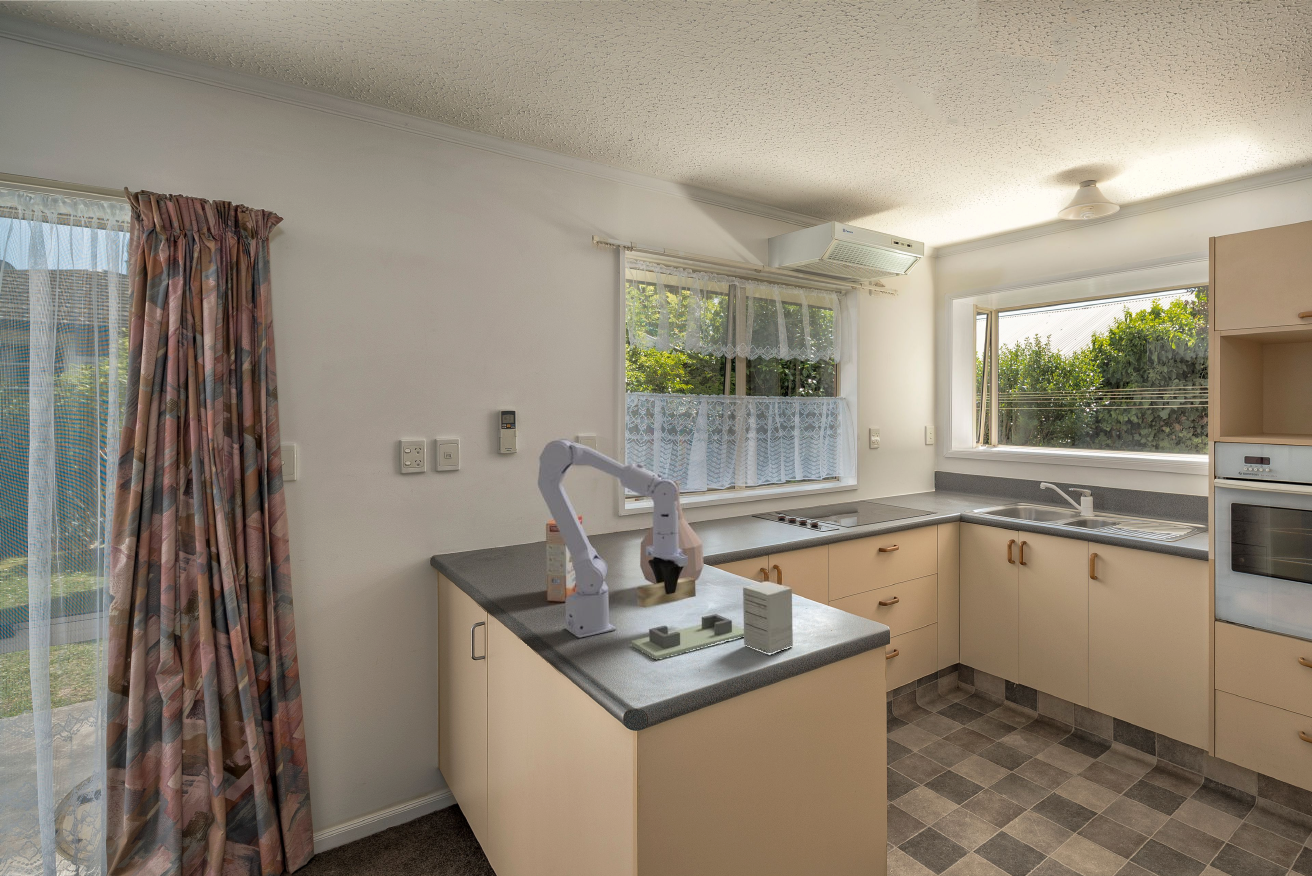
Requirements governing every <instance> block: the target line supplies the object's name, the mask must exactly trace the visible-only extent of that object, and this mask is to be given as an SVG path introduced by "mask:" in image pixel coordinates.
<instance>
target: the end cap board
mask: <svg viewBox="0 0 1312 876" xmlns="http://www.w3.org/2000/svg"><path fill="white" fill-rule="evenodd" d="M648 632H649V633H648V636H647V637H641V638H638V639H637V638H636V639H633V640H631V641H630V646H631V645H632V646H631V647H633V648H634V647H635V649H636V648H637V650H638V649H639V650H641V651H643V652H644V653H646V654H648V655H650V656H651V657H653V658H654V659H656V660H657V659H660V658H665V657H667V656H671V655H675V654H680V653H684V652H686V651H690V650H693V649H697V648H701V647H705V646H708V645H711V644H715V643H717V642H721V641H725V640H729V639H734V638H738V637H743V636H744V628H741V627H739V626H737V625H735V624H733V621H732V619H729V618H727V617H725V616H722V615H720V614H717V613H714V614H709V615H705V616H701V624H697V625H692V626H688V627H684V628H681V629H676V630H672V631H669V627H668V626H667V625H661V626H658V627H657V626H656V627H652V628H649V629H648ZM639 650H638V651H639ZM641 651H640V652H641ZM643 652H642V653H643ZM644 653H643V654H644ZM646 654H645V655H646ZM684 654H685V653H684ZM648 655H647V656H648ZM680 655H681V654H680ZM651 657H650V658H651ZM654 659H653V660H654ZM665 659H666V658H665ZM656 660H655V661H656ZM657 661H658V660H657Z"/></svg>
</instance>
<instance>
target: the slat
mask: <svg viewBox="0 0 1312 876" xmlns="http://www.w3.org/2000/svg"><path fill="white" fill-rule="evenodd" d="M696 592H697V591H696V581H695V579H693V578H690V577H686V578H681V579H678V582H677V586H676V591H675V593H672V594H666V592H665V585H664V582H661V583H656V584H653V583H651V584H647V585H643V586H642V585H641V586H638V587H637V605H638V606H639V607H641V608H649V607H654V606H658V605H662V604H666V603H671V602H677V601H680V600H681V601H682V600H685V599H689V598H694V597H696V595H697V594H696Z"/></svg>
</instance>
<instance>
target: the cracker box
mask: <svg viewBox="0 0 1312 876" xmlns="http://www.w3.org/2000/svg"><path fill="white" fill-rule="evenodd" d="M576 515H577V517H578V519H579V521H580V524H581V526H582V527H583V516H582V515H578V514H576ZM545 537H546V538H545V540H546V541H545V545H546V547H545V548H546V551H545V552H546V553H545V554H546V556H545V557H546V601H547V602H554V603H555V602H558V603H565V602H566V597H567V596H568V595H569V594H573V593H575V592H576V591H577V585H576V581H575V577H576V575H575V571H574V568H573V566H572V558H571V554H570V552H569V550H568V548H567V546H566V544H565V542H564V540H563V538H562V535H561V533H560V531H559V529H558V527H557V525H556V523H555V521H554V519H553V520H551V521H548V522H546V523H545Z"/></svg>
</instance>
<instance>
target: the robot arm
mask: <svg viewBox="0 0 1312 876" xmlns="http://www.w3.org/2000/svg"><path fill="white" fill-rule="evenodd" d="M582 465H587V466H590V467H592V468H594V469H597V470H598V471H601V472H603V473H606V474H609V475H611V476H612V477H613V476H614V477H615V478H617V479H619V481H620V483H621V486H622V487H624V488H626V489H627V490H629V491H632V492H634V493H636V494H638V495H640V496H642V497H645V498H651V500H652V502H653V512H652V526H653V546H648V547H646V555H652V556H654V558H653V559H652V560H649V561H648V563H649V565H650V566H651V568H652V570H653V573H654V575H655V579H656V582H657V583H661V582H664V585H665V592H666V594H672V593H675V591H676V586H677V582H678V578H679V576H680V573H681V571H682V569H683V567H684V566H687V565H688V557H687V556H685V555H683V554H682V550H681V549H679V545H678V512H677V503H676V500H677V498H678V490H677V486H676V484H675V483H674V482H673V481H674V480H671V479H670V478H669V477H663V474H662V473H660V472H658V474H657V473H654V472H653V471H650V470H649V469H646V468H644V464H642V463H641V462H639V463H637V464H635V463H633V462H632V463H629V464H627V465H625V464H623V463H621V462H618V461H617V460H615V459H614V458H611V457H609V456H607V455H605V454H603V453H601V452H600V451H597V450H596V449H594V448H592V447H590V446H588V445H584V444H581V443H579V442H573V441H572V440H571V439H569V438H568V439H567V438H560V439H557V440H551V441H550V442H548V443H547V444H546V445H545V447H544V448H543V450H542V452H541V454H540V455H539V467H538V478H537V486H538V489H539V491H540V493H541V495H542V497H543V499H544V502H545V503H546V506H547V509H548V511H549V512H550V515H551V516H552V519H553V520H554V521H555V523H556V525H557V527H558V529H559V531H560V533H561V535H562V538H563V540H564V542H565V544H566V546H567V548H568V550H569V552H570V554H571V558H572V566H573V568H574V571H575V575H576V577H575V581H576V585H577V591H576V592H575V593H573V594H569V595H568V596H567V597H566V602H564V603H565V626H564V629H565V630H567V631H568V632H570V634H573V635H574V636H575V637H577V638H583V637H589V636H593V635H598V634H602V633H607V632H611V631H616V630H617V627H616V626H615V625H613V624H611V623H610V614H609V613H610V611H609V609H610V608H609V607H610V605H609V586H608V585H607V584H606V581H605V579H607V577H608V574H609V567H608V564H607V562H606V561H605V560H604V559H602V558H601V557H600V556H599V554H598V553H597V551H596V549H595V548H594V547H593V546H592V545H591V543H590V541H589V539H588V536H587V534H586V532H585V530H584V528H583V525H582V526H581V524H580V521H579V519H578V517H577V515H578V514H577V513H576V511H575V508H574V507H573V505H572V502H571V500H570V498H569V495H568V494H567V492H566V490H565V488H564V486H563V481H564V478H565V476H566V475H567V471H568V469H569V468H570V467H571V466H582Z"/></svg>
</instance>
